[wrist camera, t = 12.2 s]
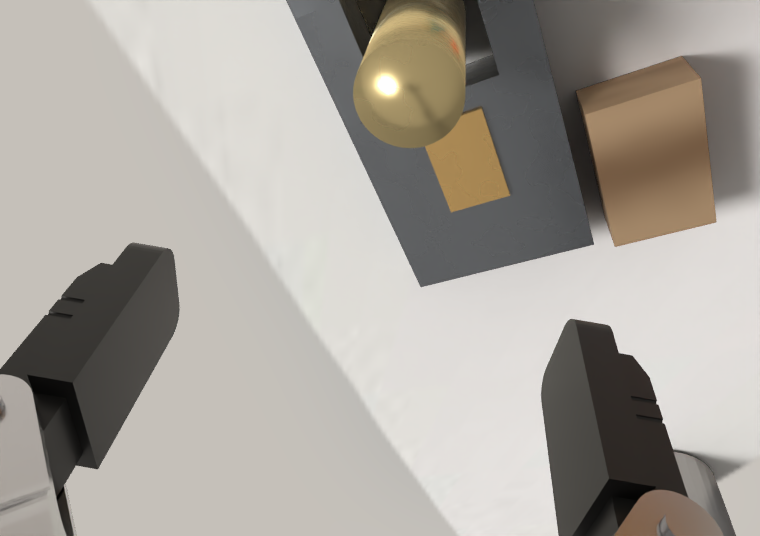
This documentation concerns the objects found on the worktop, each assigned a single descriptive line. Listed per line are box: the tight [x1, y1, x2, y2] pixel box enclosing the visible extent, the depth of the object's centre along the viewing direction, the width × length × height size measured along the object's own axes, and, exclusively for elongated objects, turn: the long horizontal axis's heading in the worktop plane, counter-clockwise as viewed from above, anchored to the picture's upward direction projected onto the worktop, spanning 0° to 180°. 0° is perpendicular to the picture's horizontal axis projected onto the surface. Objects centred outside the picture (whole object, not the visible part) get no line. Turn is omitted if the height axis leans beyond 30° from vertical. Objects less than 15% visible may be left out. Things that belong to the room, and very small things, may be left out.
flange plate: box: [286, 0, 594, 287], centre depth 30 cm, size 19×10×3 cm, turn 23°
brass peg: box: [353, 0, 466, 148], centre depth 25 cm, size 4×4×10 cm
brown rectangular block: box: [576, 56, 716, 247], centre depth 30 cm, size 8×5×3 cm, turn 23°
